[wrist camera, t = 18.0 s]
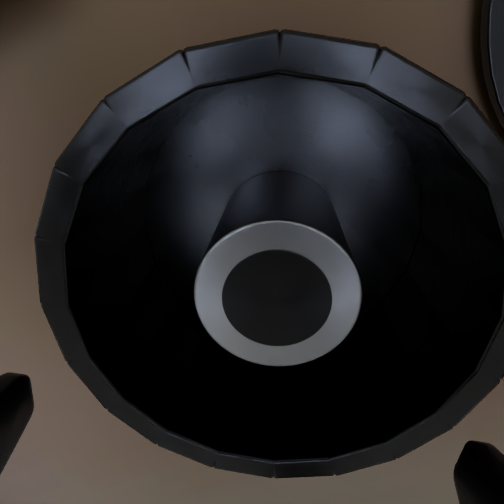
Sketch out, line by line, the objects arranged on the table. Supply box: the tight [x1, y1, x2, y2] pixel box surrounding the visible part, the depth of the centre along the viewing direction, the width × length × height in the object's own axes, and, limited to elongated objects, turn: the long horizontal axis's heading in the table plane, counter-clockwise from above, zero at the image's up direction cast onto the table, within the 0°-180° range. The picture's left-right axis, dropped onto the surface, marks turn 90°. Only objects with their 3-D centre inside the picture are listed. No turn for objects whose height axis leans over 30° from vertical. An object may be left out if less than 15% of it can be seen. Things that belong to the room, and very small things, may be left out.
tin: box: [34, 29, 504, 478], centre depth 12 cm, size 11×11×6 cm
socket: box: [194, 171, 362, 366], centre depth 12 cm, size 4×4×5 cm
